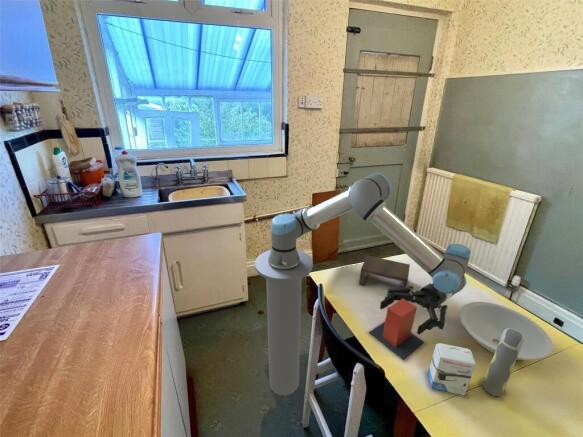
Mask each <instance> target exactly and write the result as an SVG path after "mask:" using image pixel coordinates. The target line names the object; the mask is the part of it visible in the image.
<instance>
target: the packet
mask: <svg viewBox="0 0 583 437" xmlns="http://www.w3.org/2000/svg"><path fill="white" fill-rule="evenodd" d="M417 308H418V306H416V305H415V304H413V303H412V302H411V301H406V300H405V299H401V300H400V301H396V302H394V303H392V304H391V305H389V306H387V307H386V315H385V320H384V322H385V326H384V331H383V338H384V339H385V340H387V341H388V342H389V343H390V344H392V345H393V346H394V347H397V346H398V345H399V344H401V343H402V342H403V341H405V340H406V339H407V338H408V337H410V336H411V333H412V330H413V328H414V326H413V325H414V322H415V317H416V313H417Z"/></svg>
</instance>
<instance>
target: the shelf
mask: <svg viewBox="0 0 583 437" xmlns="http://www.w3.org/2000/svg"><path fill="white" fill-rule="evenodd" d="M410 266H411V264H409V263H405V262H400V261H395V260H391V259H386V258H381V257H377V256H371V255H366V256H365V258H364V261H363V264H362V265H361V268H360V274H359V275H360V277H359V282H358V283H359V284H358V285H359V286H362V287H363V286H364V285H365V284H364V283H365V281H366V279H367V277H368V276H367V275H368V274H369V275H373V276H377V277H381V278H386V279H390V280H394V281H398V282H401V283H402V284H401V288H406V287H408V282H409V274H410Z"/></svg>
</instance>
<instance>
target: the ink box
mask: <svg viewBox="0 0 583 437" xmlns="http://www.w3.org/2000/svg"><path fill="white" fill-rule="evenodd" d="M476 366H477V363H476V360H475V356H474V355H473V352H472V350H471V349H469V348H466V347H461V346H456V345H450V344H446V343H441V342H439V343H436V344H435V347H434V350H433V354H432V356H431V361H430V364H429V367H428V371H427V376H428V381H429V385H430V388H431V389H433V390H438V391H442V392H447V393H451V394H457V395H461V396H465V395H466V393H467V390H468V387H469V385H470V382H471V379H472V377H473V374H474V371H475V368H476Z"/></svg>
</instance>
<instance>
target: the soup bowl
mask: <svg viewBox="0 0 583 437" xmlns="http://www.w3.org/2000/svg"><path fill="white" fill-rule="evenodd" d="M458 316H459V321H460V323H461V325H462V326H463V328H464V329H465V330H466V331H467V332H468V334H469V335H470V337H472V339H473V340H474V341H475V342H477V343H478V344H479V345H480V346H481V347H482V348H484V349H485V350H487V351H489V352H491V353H493V354H495V351H496V349H497V347H498V344H499V343H498V344H497V343H495V342H494V341H493V340H495V341H498V342H500V339H501V337H502V334H503V332H504V330H505V329H508V328H512V329H515V330H518V331H519V332H521V333H522V335H523V337H524V342H523V344H522V347H521V350H520V352H519V355H518V357H517V360H518V361H519V360H523V361H525V360H527V361H537V360H543V359H545V358H547V357H549V356H550V355H551V353H552V352H553V348H554V346H553V341H552V340H551V337H550V336H549V335H548V333H547V332H546V331H545V330H544V329H543V328H542V327H541V326H540V325H539V324H538V323H537V322H535V320H532V319H531V318H529V317H528V316H526V315H524V314H523V313H520V312H519V311H516V310H514V309H513V308H509V307H507V306H504V305H500V304H497V303H493V302H488V301H473V302H468V303H465V304H464V305H463V306H461V308H460V309H459V312H458ZM517 360H516V361H517Z"/></svg>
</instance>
